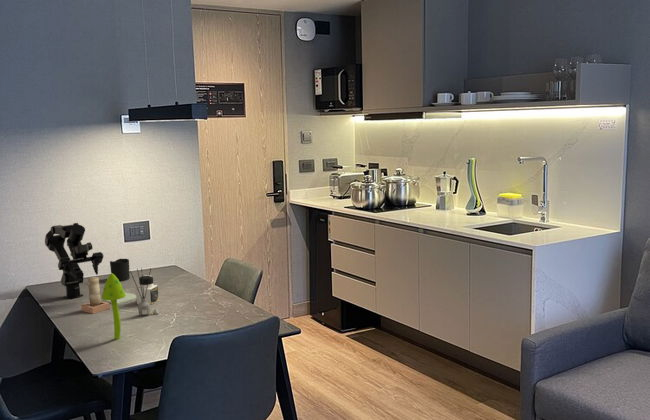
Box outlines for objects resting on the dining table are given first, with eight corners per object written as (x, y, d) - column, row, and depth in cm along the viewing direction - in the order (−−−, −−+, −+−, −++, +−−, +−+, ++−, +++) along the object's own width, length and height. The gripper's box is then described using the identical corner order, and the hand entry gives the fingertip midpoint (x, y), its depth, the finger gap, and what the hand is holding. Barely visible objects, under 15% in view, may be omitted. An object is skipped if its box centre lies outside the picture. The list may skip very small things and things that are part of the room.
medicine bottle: (151, 304, 275) (149, 278, 273) (136, 304, 276) (134, 278, 274) (158, 300, 282) (157, 274, 280) (144, 299, 283) (142, 274, 281)
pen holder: (112, 278, 326) (110, 259, 324) (130, 276, 328) (129, 258, 326) (110, 282, 317) (108, 263, 315) (129, 280, 319) (128, 261, 317)
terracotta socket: (81, 310, 269) (81, 305, 269) (98, 305, 276) (98, 300, 276) (93, 313, 264) (92, 308, 264) (110, 308, 271) (109, 303, 271)
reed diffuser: (134, 318, 256) (130, 270, 253) (132, 313, 262) (129, 267, 260) (159, 314, 260) (156, 268, 257) (157, 310, 266) (154, 264, 263)
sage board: (100, 300, 284) (100, 299, 284) (124, 293, 294) (124, 292, 294) (118, 304, 276) (117, 303, 276) (142, 297, 287) (142, 296, 286)
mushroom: (123, 333, 238) (118, 269, 235) (132, 338, 232) (127, 272, 228) (101, 338, 233) (96, 273, 229) (110, 344, 226) (105, 277, 223)
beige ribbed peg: (88, 310, 270) (85, 278, 268) (97, 307, 273) (94, 276, 271) (94, 311, 267) (91, 280, 265) (103, 309, 271) (100, 277, 269)
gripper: (57, 240, 270) (68, 269, 263) (100, 234, 282) (111, 262, 275) (53, 255, 277) (63, 284, 270) (95, 248, 289) (106, 276, 282)
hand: (86, 276), depth 274 cm, fingers open, 9 cm apart
